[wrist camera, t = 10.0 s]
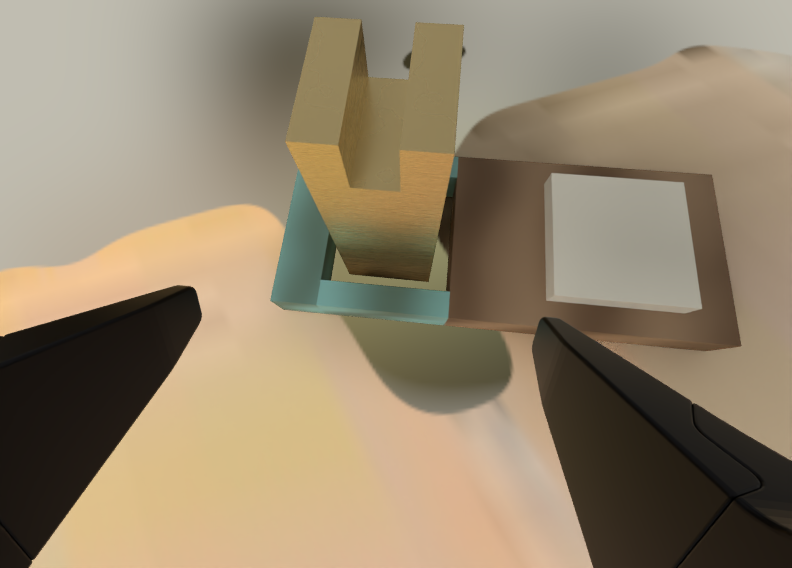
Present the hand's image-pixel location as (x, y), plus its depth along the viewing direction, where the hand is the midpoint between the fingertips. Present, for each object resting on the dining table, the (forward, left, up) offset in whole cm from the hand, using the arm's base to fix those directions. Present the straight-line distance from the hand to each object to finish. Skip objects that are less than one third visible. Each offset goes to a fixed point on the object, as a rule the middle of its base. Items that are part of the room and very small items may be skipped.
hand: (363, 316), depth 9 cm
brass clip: (+4, +5, -10) cm, 12 cm away
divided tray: (+8, 0, -10) cm, 13 cm away
